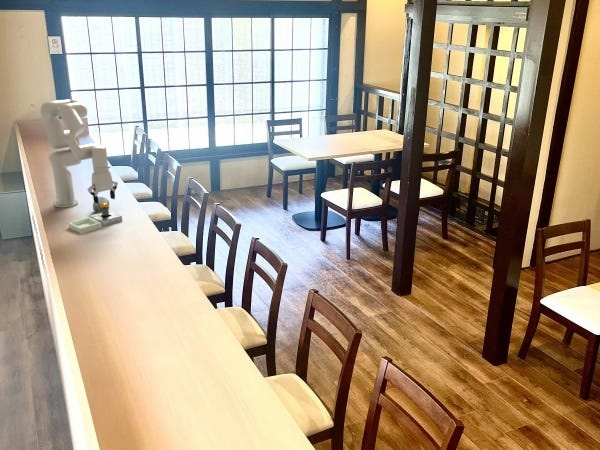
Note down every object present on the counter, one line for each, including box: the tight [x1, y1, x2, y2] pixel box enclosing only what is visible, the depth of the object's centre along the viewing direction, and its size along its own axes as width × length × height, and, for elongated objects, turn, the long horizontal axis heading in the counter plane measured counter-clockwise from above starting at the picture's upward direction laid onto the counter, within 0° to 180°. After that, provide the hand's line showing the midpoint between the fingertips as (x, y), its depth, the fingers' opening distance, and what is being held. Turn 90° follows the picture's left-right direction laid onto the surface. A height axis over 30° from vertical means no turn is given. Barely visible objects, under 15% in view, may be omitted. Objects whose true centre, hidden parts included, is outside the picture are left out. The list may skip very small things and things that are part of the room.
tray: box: [67, 216, 103, 235], centre depth 294 cm, size 12×12×3 cm
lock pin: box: [100, 202, 110, 218], centre depth 302 cm, size 5×5×10 cm
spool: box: [92, 196, 110, 214], centre depth 316 cm, size 14×10×10 cm
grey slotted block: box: [89, 209, 123, 228], centre depth 304 cm, size 12×12×3 cm
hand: (104, 200), depth 300 cm, fingers open, 9 cm apart
